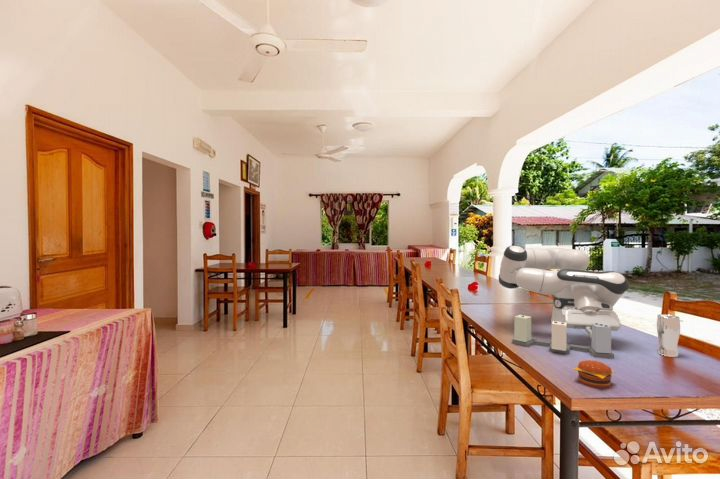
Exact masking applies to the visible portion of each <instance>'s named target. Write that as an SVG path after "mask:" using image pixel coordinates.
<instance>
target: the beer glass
mask: <svg viewBox="0 0 720 479" xmlns="http://www.w3.org/2000/svg"><path fill="white" fill-rule="evenodd" d="M680 319H681V318H680V316H677V315H672V314H665V313H664V314H662V313H661V314H657V319H656V332H657V336H658V345H659V346H658V349H657V350H658V351H657V353H658V355H660V354H661V355H660V356H663V355H664V356H663V357H670V358H678V357H679V351H678V343H679V339H680V334H681V321H680Z"/></svg>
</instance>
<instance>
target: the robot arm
mask: <svg viewBox="0 0 720 479" xmlns="http://www.w3.org/2000/svg"><path fill="white" fill-rule="evenodd" d="M589 265H590V257H589V255H588V254H587V253H586V252H584V251H582V250H579V249H575V248H574V249H573V248H564V247H563V248H560V247H558V248H557V247H554V248H553V247H552V248H550V247H549V248H545V247H544V248H540V247H539V248H538V247H536V248H533V247H532V248H531V247H529V248H528V247H527V248H524V247H523V246H520V245H513V244H512V245H509V246H507V247H505V250H504V251H503V256H502V259H501V263H500V269H499V274H498V283H499V284H500V285H501V286H502V287H504V288H506V289H510V290H511V289H518V288H521V289H523V290H527V291H529V292H532V293H537V294H540V295H544V296H553V298H552V300H553V301H552V302H553V307H552V314H551V317H550V324H552V322H553V321H557V322H566V323H567V329H581V330H584V331H585V333H587V335H589V338H590V339H592V323H598V324H607V325H608V326H610V327H611V332H617V331H619V330H620V328H621V327H622V323H621V321H620V318H619V316H618V314H617V313H616V312H615V311H614V306H615V305H616V303H617V302H618V301H619V300H620V299H621V297H622V296H623V295H624V294H625V292H627V291H628V289H629V287H630V282H629V281H628V278H627V277H626V276H625V275H623V273H621V272H619V271H615V270H614V271H613V270H605V271H594V270H586V269H587V268H588V267H589Z"/></svg>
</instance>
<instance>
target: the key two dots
mask: <svg viewBox="0 0 720 479" xmlns="http://www.w3.org/2000/svg"><path fill="white" fill-rule="evenodd" d="M567 331H568V328H567V323H566V322H557V321H553V322H552V323H551V342H552V349H556V350H563V351H566V349H567V344H568V343H567V342H568V341H567V340H568V338H567V337H568V335H567V334H568V332H567Z"/></svg>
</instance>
